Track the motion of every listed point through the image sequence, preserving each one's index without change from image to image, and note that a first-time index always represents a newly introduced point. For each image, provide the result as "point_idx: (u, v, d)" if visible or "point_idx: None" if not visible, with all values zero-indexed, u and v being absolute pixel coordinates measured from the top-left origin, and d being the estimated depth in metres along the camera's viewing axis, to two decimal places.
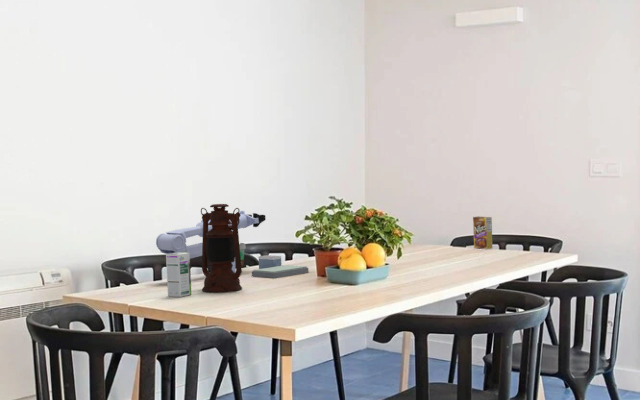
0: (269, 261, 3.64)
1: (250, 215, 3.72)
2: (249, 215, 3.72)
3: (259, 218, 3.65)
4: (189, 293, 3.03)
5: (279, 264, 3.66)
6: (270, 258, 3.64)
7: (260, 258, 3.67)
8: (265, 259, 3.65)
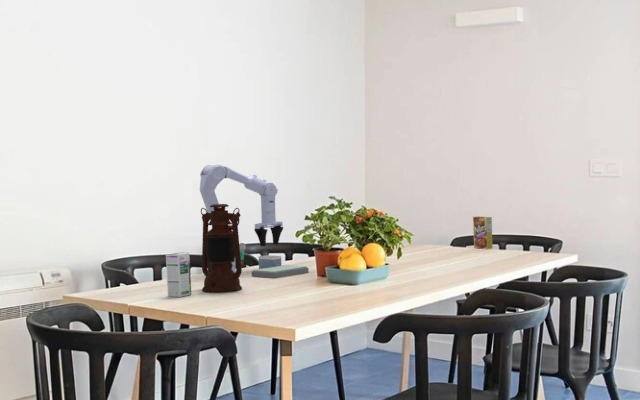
0: (269, 261, 3.64)
1: (276, 242, 3.69)
2: (276, 241, 3.69)
3: (262, 237, 3.64)
4: (189, 293, 3.03)
5: (279, 264, 3.66)
6: (270, 258, 3.64)
7: (260, 258, 3.67)
8: (265, 259, 3.65)
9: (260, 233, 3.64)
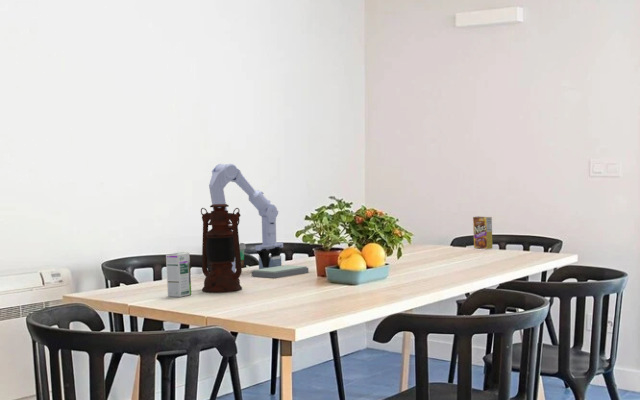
0: (269, 261, 3.64)
1: None
2: None
3: (264, 258, 3.65)
4: (189, 293, 3.03)
5: (279, 264, 3.66)
6: (270, 258, 3.64)
7: (260, 258, 3.67)
8: None
9: (262, 254, 3.65)
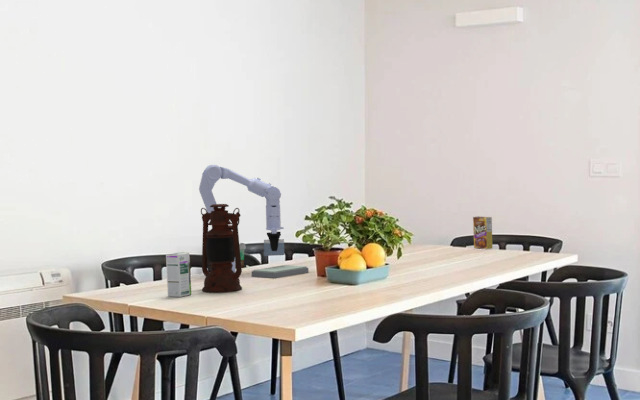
0: (279, 244, 3.58)
1: None
2: None
3: (274, 241, 3.57)
4: (189, 293, 3.03)
5: None
6: (280, 241, 3.58)
7: (266, 242, 3.58)
8: None
9: (272, 238, 3.57)
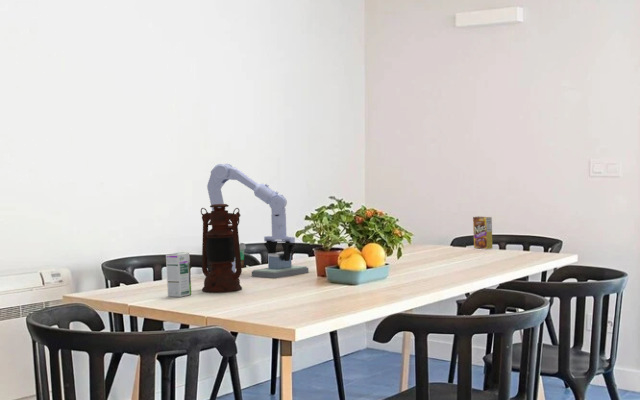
0: None
1: None
2: None
3: (288, 251, 3.50)
4: (189, 293, 3.03)
5: None
6: None
7: (279, 256, 3.49)
8: None
9: None
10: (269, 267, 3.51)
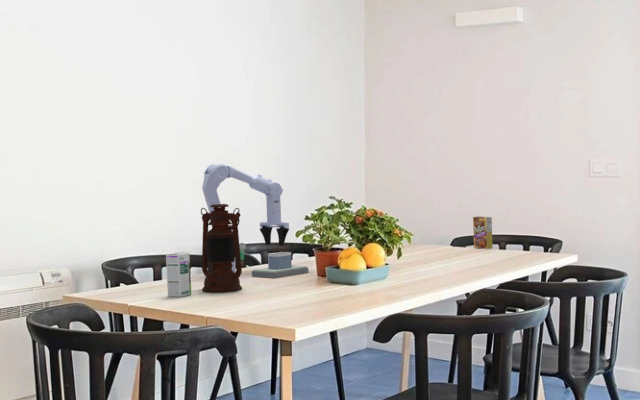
0: (288, 257, 3.53)
1: (269, 242, 3.69)
2: (269, 241, 3.69)
3: (282, 236, 3.64)
4: (189, 293, 3.03)
5: None
6: (289, 254, 3.53)
7: (279, 256, 3.49)
8: (284, 256, 3.51)
9: None
10: (269, 267, 3.51)
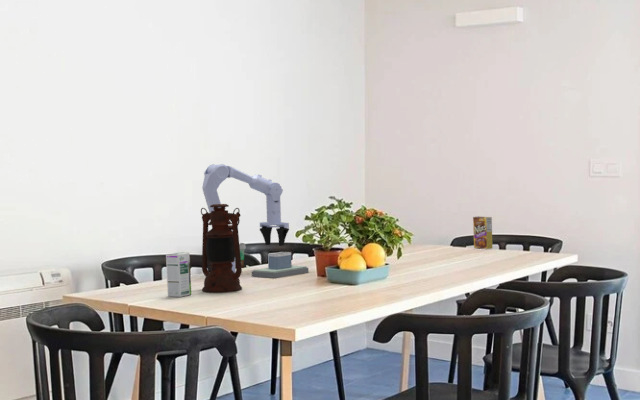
0: (288, 257, 3.53)
1: (269, 242, 3.69)
2: (269, 241, 3.69)
3: (282, 236, 3.64)
4: (189, 293, 3.03)
5: None
6: (289, 254, 3.53)
7: (279, 256, 3.49)
8: (284, 256, 3.51)
9: None
10: (269, 267, 3.51)
